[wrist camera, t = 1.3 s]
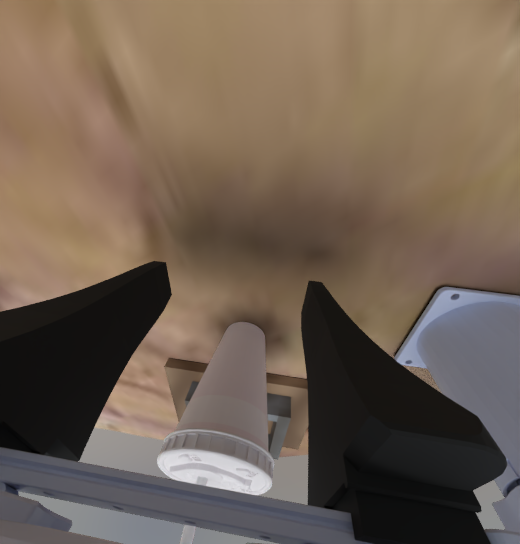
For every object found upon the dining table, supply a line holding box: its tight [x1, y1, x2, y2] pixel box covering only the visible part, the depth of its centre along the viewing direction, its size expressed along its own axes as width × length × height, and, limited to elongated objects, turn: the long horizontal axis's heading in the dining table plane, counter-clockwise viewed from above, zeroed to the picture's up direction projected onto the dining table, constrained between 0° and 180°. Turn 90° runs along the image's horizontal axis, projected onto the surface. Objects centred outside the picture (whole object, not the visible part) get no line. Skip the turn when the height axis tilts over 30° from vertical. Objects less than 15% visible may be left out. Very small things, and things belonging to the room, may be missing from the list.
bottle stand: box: [164, 358, 308, 459], centre depth 25 cm, size 16×14×3 cm
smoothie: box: [157, 322, 274, 544], centre depth 14 cm, size 6×6×14 cm
